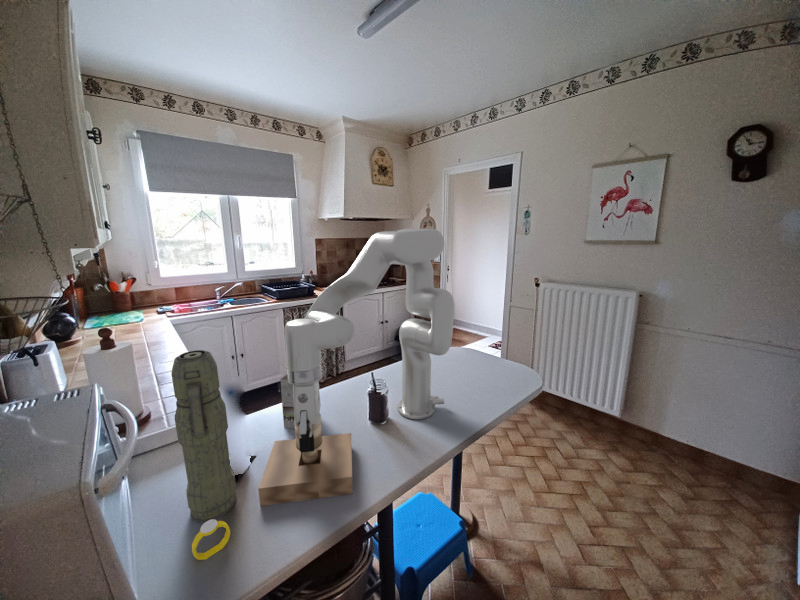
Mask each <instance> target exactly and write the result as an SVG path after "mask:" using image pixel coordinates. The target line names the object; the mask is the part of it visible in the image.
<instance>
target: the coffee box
mask: <svg viewBox="0 0 800 600" xmlns="http://www.w3.org/2000/svg"><path fill="white" fill-rule="evenodd" d="M280 391H281V392H280V393H281V405H282V418H283V419H282V421H283V427H284V428H288V429H294V430H295V421H294V419H295V416H294V398H293V385H292V384H290V383H289V382H288V374H287V373H286V374H285V375H284V376H282V377H281V378H280Z"/></svg>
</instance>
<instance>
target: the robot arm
mask: <svg viewBox="0 0 800 600" xmlns="http://www.w3.org/2000/svg"><path fill="white" fill-rule="evenodd" d="M444 238H445V237H444V236H443V234H442V232H441V231H439V230H438V229H435V228H403V229H399V230H396V231H395V230H394V231H388V230H385V231H378V232H375V233H374V234H372V235H371V236H370V237H369V238H368V241H367V242H366V244H365V245H363V248H362V250H361V251H360V252H359V254H358V255H357V257H356V258H355V260H354V261H353V263H352V264H351V266H350V268H349V269H348V270H347V271H346V273H345V274H344V275H342V276H341V277H339V278H337V279H336V280H335V281H334V282H332V283H331V284H330V285H328V286H327V287H326V288H325V289H323V290H322V291H321V293H320V294H319V295H317V297H316V299H315V300H314V302H313V303H312V305H311V306H310V307H309V309H308V311H307V312H306V314H305V316H304V318H296V319H293V320H290V321H287V323H286V324H285V325H284V329H283V330H284V342H285V343H284V346H285V356H286V357H285V358H286V359H285V360H286V372H287V373H286V375H287V374H288V382H289V383H290V384H292V385H293V398H294V416H295V424H296V426H298V427H299V445H300V452H311V451H314V434H312V425H316V424H317V423H318V420H319V414H320V415H321V404H322V403H321V394H320V383H319V381H320V380H321V379H322V377H323V374H322V357H321V351H322V350H325V349H335V348H340V347H343V346H345V345H348V344H349V343H350V342H351V341H352V339H354V336H355V326H354V324H353V323H352V321H351V320H350V319H349V318H347V317H345V316H343V315H339V314H337V313H338V311H340V309H341V308H342V307H343V306H345V305H346V304H347V303H349V302H350V301H353V300H356V299H359V298H362V297H365V296H367V295H370V294H372V293H374V292H375V291H376V289H377V288H378V286H379V285H380V283H381V281H382V280H383V278H384V277H385V274H386V273H387V272H388V270H389V268H390V266H391V265H402V266H404V267H405V272H406V283H405V284H406V286H405V309H406V311H407V312H408V313H410V314H411V315H415V316H419V317H423V318H427V319H430V321H428V320H425V319H420V318H408V319H406V320H404V321H403V322H402V323H401V324H400V328H399V330H398V336H399V343H400V348H401V358H402V359H401V361H402V363H401V364H402V365H401V368H402V370H401V373H402V374H401V376H402V378H401V379H402V380H401V382H402V383H401V384H402V385H401V398H402V399H401V400H400V401H399V402H398V403H397V412H398V413H399V414H400V415H401V416H403V417H405V418H407V419H411V420H423V419H427V418H430V417H431V416H433V414H434V413H435V409H436V407H435V406H436V405H444V404H445V399H444V397H442V398H441V397H440V398H439V395H434V396H433V395H431V384H432V381H431V380H432V376H431V375H432V359H431V355H434V356H438V357H441V356H444V355H445V354H447V353H448V351H450V348H451V347H452V346H451V345H452V341H453V333H454V320H455V319H454V318H455V300H454V297H453V295H452V293H451V292H450V291H449V290H448V289H445V288H438V287H435V286H434V278H435V277H434V274H435V272H434V267H433V264H432V261H433V260H435V259H437V258H439V257H440V255H441V254H442V253H443V251H444V248H445V239H444ZM430 354H431V355H430ZM307 420H309V421H310V422H308V423H307ZM307 426H309V430H307Z"/></svg>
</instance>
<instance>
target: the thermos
mask: <svg viewBox="0 0 800 600" xmlns="http://www.w3.org/2000/svg"><path fill="white" fill-rule="evenodd" d="M218 372H219V369H218V364H217V362H216V359H215V358H214V356H213V355H212V353H211V352H210V351H207V350H203V349H202V350H201V349H198V350H197V349H196V350H190V351H186V352H183V353H181V354H179V355H178V356H176V357H175V358H174V360H173V364H172V369H171V379H172V380H171V381H172V387H173V392H174V398H175V399H176V402H175V403H176V410H175V414H174V424H175V431H176V436H177V441H178V444H179V445H181V448H182V453H183V461H184V466H185V474H186V479H187V485H186V489H185V491H186V493H185V494H186V501H187V505H188V509H189V511H190V518H191V517H192V518H191V519H192V520H193V521H194V520H195V521H194V522H196V521H197V522H196V523H200V522H207V521H209V520H211V519H215V520H218V519H221V518H222V517H223V516H225V515H226V514H227V513H229V511H230V510H231V509H233V507H234V506H235V503H236V501H237V493H236V491H237V490H236V489H237V486H236V484H237V483H235V476H234V472H233V470H232V468H231V466H230V458H229V455H230V453H229V452H230V451H229V442H228V436H227V431H228V429H229V424H228V417H227V407H226V403H225V401H224V399H223V398H222V395H221V391H220V390H219V389H220V380H219V373H218Z"/></svg>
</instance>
